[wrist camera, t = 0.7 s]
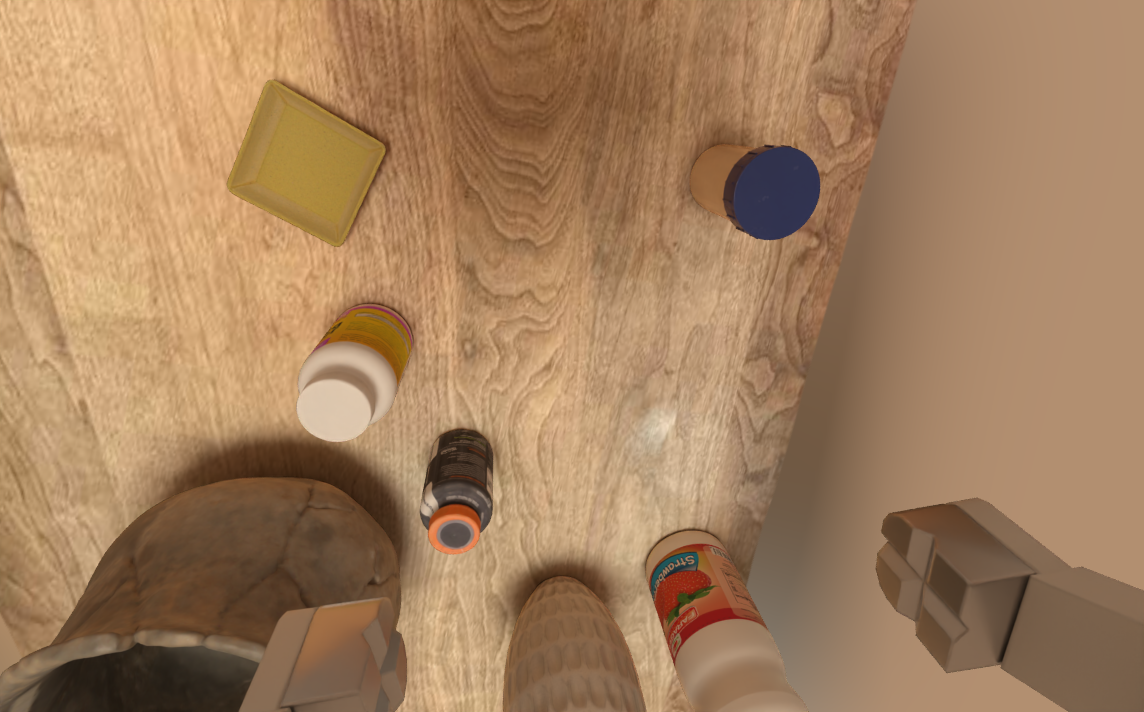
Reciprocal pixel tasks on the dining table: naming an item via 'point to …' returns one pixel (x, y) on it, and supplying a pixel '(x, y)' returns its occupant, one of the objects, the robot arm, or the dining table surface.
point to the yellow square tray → (304, 164)
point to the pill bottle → (458, 491)
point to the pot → (204, 597)
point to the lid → (771, 191)
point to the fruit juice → (716, 629)
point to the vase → (569, 655)
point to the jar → (714, 175)
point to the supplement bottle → (353, 373)
